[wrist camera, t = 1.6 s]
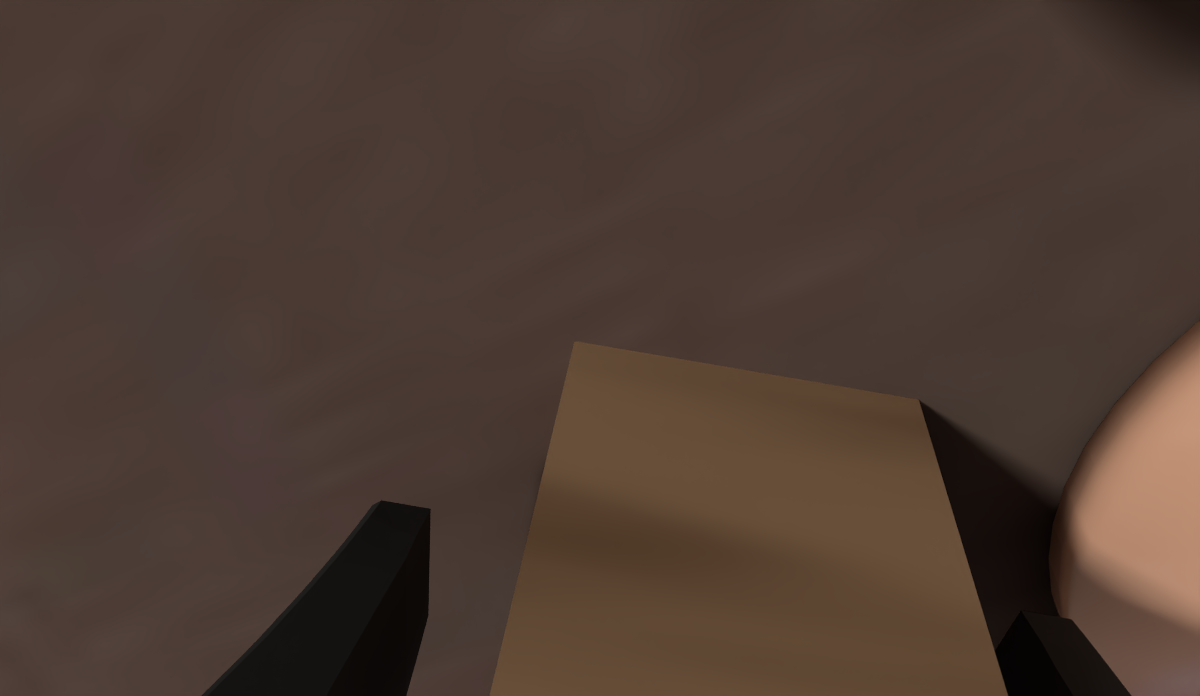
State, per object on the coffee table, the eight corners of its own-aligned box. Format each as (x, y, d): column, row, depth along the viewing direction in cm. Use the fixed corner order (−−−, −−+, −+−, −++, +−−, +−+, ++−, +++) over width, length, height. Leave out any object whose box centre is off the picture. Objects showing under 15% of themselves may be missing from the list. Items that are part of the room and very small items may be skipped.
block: (822, 616, 14) (878, 1093, 9) (544, 568, 14) (448, 1015, 9) (918, 398, 11) (1071, 901, 6) (575, 340, 11) (464, 793, 6)
